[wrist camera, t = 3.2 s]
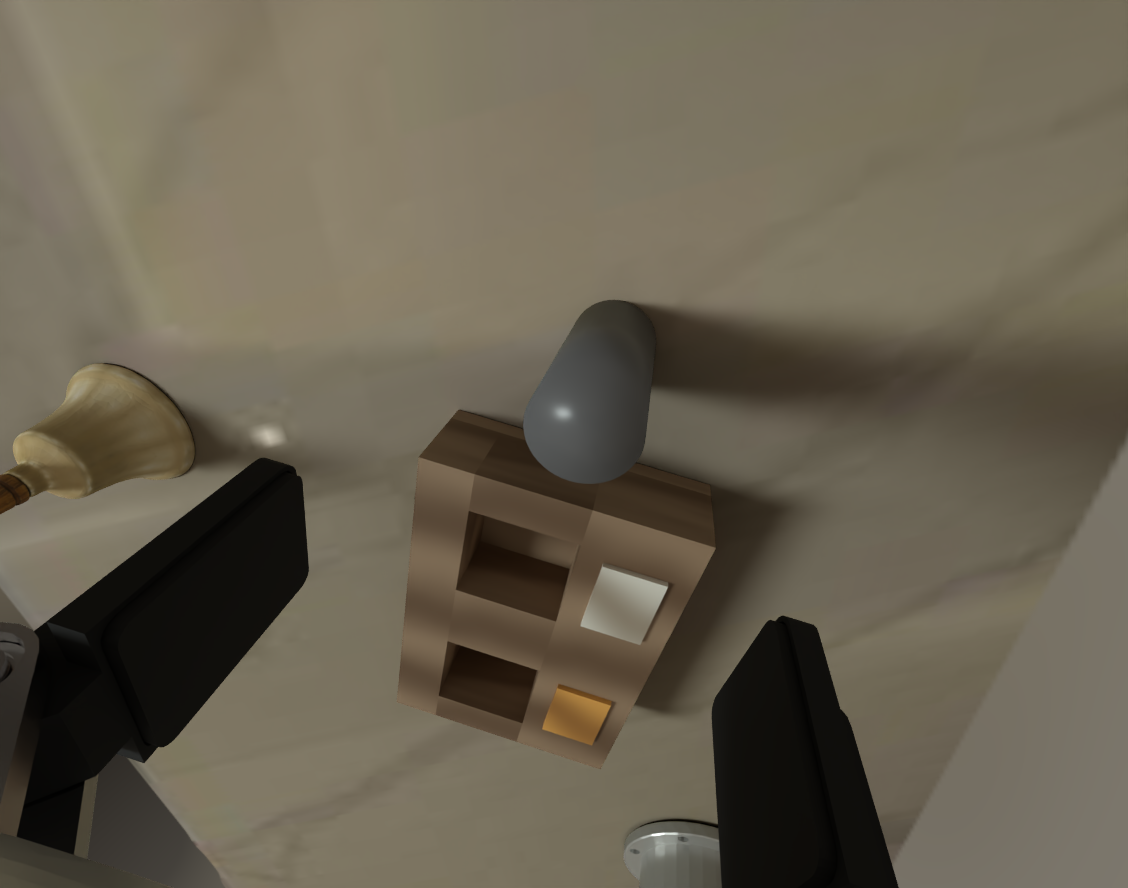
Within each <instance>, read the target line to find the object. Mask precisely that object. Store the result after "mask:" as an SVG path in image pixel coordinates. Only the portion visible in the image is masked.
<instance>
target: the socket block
mask: <svg viewBox="0 0 1128 888" xmlns="http://www.w3.org/2000/svg"><path fill="white" fill-rule="evenodd" d="M715 549H716V542H715V532H714V521H713V510H712V499H711V489H710V485H708V484H705V483H701V482H698V481H695V480H691V479H688V478H685V477H681V476H678V475H675V474H671V473H668V472H665V471H661V470H658V469H655V468H651V467H648V466H645V465H641V464H638V463H635V464H634V465H633V466H632V468H630V469H629V470H628V471H627V472H626V473H624V474H623V475H621V476H619V477H617V478H615V479H613V480H610V481H607V482H603V483H596V484H583V483H576V482H572V481H568V480H565V479H563V478H560V477H558V476H556V475H555V474H553V473H551V472H550V471H548V470H547V469H546V468H545V467H543V466H542V465H541V464H540V463H539V462H538V461H537V459H536V458H535V457H534V456H533V454H532V452H531V451H530V449H529V447H528V445H527V442H526V439H525V436H524V429H521V428H518V427H514V426H511V425H508V424H504V423H501V422H498V421H494V420H491V419H488V418H484V417H481V416H478V415H474V414H471V413H468V412H464V411H461V410H458V411H457V412H456V413H455V415H454V416H453V417H452V418H451V419H450V421H449V422H448V423H447V424H446V425H445V427H444V428H443V429H442V430H441V431H440V432H439V434H438V435H437V436H436V437H435V438H434V440H433V441H432V442H431V443H430V444H429V446H428V447H427V448H426V449H425V450H424V451H423V453H422V454H421V455H420V456H419V459H418V471H417V482H416V493H415V504H414V516H413V527H412V538H411V549H410V561H409V572H408V583H407V594H406V606H405V617H404V628H403V640H402V651H401V662H400V673H399V685H398V696H397V702H398V703H401V704H404V705H407V706H410V707H413V708H416V709H419V710H422V711H426V712H429V713H432V714H435V715H438V716H441V717H444V718H447V719H450V720H453V721H456V722H459V723H462V724H465V725H468V726H471V727H474V728H477V729H480V730H483V731H486V732H489V733H492V734H495V735H498V736H501V737H504V738H507V739H510V740H513V741H516V742H519V743H522V744H525V745H528V746H531V747H534V748H537V749H540V750H543V751H546V752H549V753H553V754H556V755H559V756H562V757H565V758H568V759H571V760H574V761H577V762H580V763H583V764H586V765H589V766H592V767H595V768H598V769H601V767H602V765H603V763H604V761H605V759H606V757H607V755H608V754H609V752H610V750H611V748H612V746H613V744H614V742H615V740H616V738H617V736H618V734H619V732H620V731H621V729H622V727H623V725H624V723H625V721H626V719H627V717H628V715H629V713H630V711H631V710H632V708H633V706H634V704H635V702H636V700H637V698H638V696H639V694H640V692H641V690H642V689H643V687H644V685H645V683H646V681H647V679H648V677H649V675H650V673H651V671H652V669H653V667H654V666H655V664H656V662H657V660H658V658H659V656H660V654H661V652H662V650H663V648H664V646H665V645H666V643H667V641H668V639H669V637H670V635H671V633H672V631H673V629H674V627H675V625H676V624H677V622H678V620H679V618H680V616H681V614H682V612H683V610H684V608H685V606H686V604H687V603H688V601H689V599H690V597H691V595H692V593H693V591H694V589H695V587H696V585H697V583H698V581H699V580H700V578H701V576H702V574H703V572H704V570H705V568H706V566H707V564H708V562H709V560H710V559H711V557H712V555H713V553H714V551H715Z"/></svg>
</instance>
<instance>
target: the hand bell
mask: <svg viewBox="0 0 1128 888" xmlns="http://www.w3.org/2000/svg"><path fill="white" fill-rule="evenodd" d="M13 453H14V456H15V459H16V461H17V463H18V465H17V466H16V467H14V468H12V469H10V470H8V471H6V472H5V473H4V474H3V475H0V514H2V513H4V512H5V511H7V510H9V509H11V508H13V507H14V506H15V505H20V504H22V503H24V502H26V501H27V500H28V499H29V497H33V496H35V495H37V494H39V493H41V492H43V491H48V492H50V493H52V494H54V495H57V496H60V497H63V498H69V499H79V498H83V497H86V496H88V495H90V494H92V493H94V492H97V491H99V490H101V489H103V488H106V487H108V486H111V485H113V484H115V483H118V482H121V481H125V480H129V479H133V478H146V479H152V480H164V479H171V478H175V477H178V476H181V475H182V474H184V473H185V472H186V471H187V470H188V469H189V468H190V467H191V465H192V463H193V460H194V457H195V446H194V441H193V437H192V434H191V431H190V429H189V426H188V424H187V423H186V421H185V419H184V417H183V416H182V414H181V413H180V412H179V410H178V408H177V407H176V406H175V405H174V403H173V402H172V401H171V400H170V399H169V398H168V397H167V396H166V395H165V394H164V393H163V392H161V391H160V390H159V389H158V388H157V387H156V386H154V385H153V384H152V383H151V382H149V381H148V380H146V379H145V378H143V377H142V376H140V375H138V374H136V373H134V372H132V371H130V370H128V369H125V368H122V367H119V366H116V365H110V364H103V363H100V364H91V365H87V366H85V367H83V368H81V369H80V370H79V371H77V372H76V374H75V375H74V376H73V377H72V379H71V380H70V382H69V385H68V387H67V392H66V399H65V401H64V402H63V404H62V405H61V406H60V407H59V408H58V409H57V410H56V411H55V412H54V413H52V414H51V415H50V416H48V417H47V418H45V419H44V420H43V421H41V422H40V423H38V424H36V425H35V426H33V427H32V428H30V429H28V430H26V431H24V432H23V433H21V434H20V435H19V436H18V437H17V438H16V439H15V441H14V444H13Z"/></svg>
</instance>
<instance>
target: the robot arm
mask: <svg viewBox="0 0 1128 888" xmlns="http://www.w3.org/2000/svg"><path fill="white" fill-rule="evenodd" d="M308 572H309V565H308V551H307V538H306V524H305V510H304V497H303V483H302V478H301V477H300V476H297V474H296V470H295V468H294V467H293V466H290V465H287V464H284V463H280V462H277V461H274V460H270V459H267V458H260V459H258V460H256V461H254V462H253V463H252V464H251V465H249V466H248V467H247V468H245V469H244V470H243V471H241V472H240V473H239V474H238V475H236V476H235V477H234V478H232V479H231V480H230V481H229V482H227V483H226V484H225V485H223V486H222V487H221V488H219V489H218V490H217V491H216V492H214V493H213V494H212V495H210V496H209V497H208V498H206V499H205V500H204V501H203V502H201V503H200V504H199V505H197V506H196V507H195V508H193V509H192V510H191V511H190V512H188V513H187V514H186V515H184V516H183V517H182V518H180V519H179V520H178V521H177V522H175V523H174V524H173V525H171V526H170V527H169V528H167V529H166V530H165V531H164V532H162V533H161V534H160V535H158V536H157V537H156V538H154V539H153V540H152V541H151V542H149V543H148V544H147V545H145V546H144V547H143V548H141V549H140V550H139V551H138V552H136V553H135V554H134V555H132V556H131V557H130V558H128V559H127V560H126V561H125V562H123V563H122V564H121V565H119V566H118V567H117V568H115V569H114V570H113V571H112V572H110V573H109V574H108V575H106V576H105V577H104V578H102V579H101V580H100V581H99V582H97V583H96V584H95V585H93V586H92V587H91V588H89V589H88V590H87V591H86V592H84V593H83V594H82V595H80V596H79V597H78V598H76V599H75V600H74V601H73V602H71V603H70V604H69V605H67V606H66V607H65V608H63V609H62V610H61V611H60V612H58V613H57V614H56V615H54V616H53V617H52V618H50V619H49V620H48V621H47V622H45V623H44V624H43V625H42V626H40V627H39V628H38V629H36V630H35V631H33V630H32V629H30V628H28V627H26V626H23V625H21V624H16V623H5V622H0V888H173V887H170V886H167V885H164V884H160V883H158V882H155V881H152V880H149V879H146V878H143V877H140V876H137V875H134V874H131V873H128V872H125V871H123V870H120V869H116V868H114V867H110V866H107V865H104V864H101V863H98V862H94V861H91V860H88V859H87V854H88V847H89V840H90V832H91V825H92V817H93V810H94V802H95V795H96V787H97V780H98V773H99V772H100V771H101V770H102V769H103V768H104V767H105V766H106V764H107V763H108V762H109V761H110V760H111V759H112V758H113V757H114V756H115V755H116V754H119V755H121V756H124V757H127V758H130V759H133V760H136V761H139V762H142V763H145V762H146V761H147V759H148V758H149V757H150V756H151V755H152V754H153V752H154V751H155V750H156V749H157V748H158V747H165V746H167V745H168V744H170V743H171V742H172V741H173V740H174V739H175V738H176V737H177V736H178V735H179V734H180V732H181V731H182V730H183V729H184V728H185V726H186V725H187V724H188V723H189V722H190V720H191V719H192V718H193V717H194V716H195V714H196V713H197V712H198V711H199V710H200V708H201V707H202V706H203V705H204V704H205V702H206V701H207V700H208V699H209V698H210V696H211V695H212V694H213V693H214V692H215V690H216V689H217V688H218V687H219V686H220V684H221V683H222V682H223V681H224V680H225V678H226V677H227V676H228V675H229V674H230V672H231V671H232V670H233V669H234V668H235V666H236V665H237V664H238V663H239V662H240V660H241V659H242V658H243V657H244V656H245V654H246V653H247V652H248V651H249V650H250V648H251V647H252V646H253V645H254V644H255V642H256V641H257V640H258V639H259V638H260V636H261V635H262V634H263V633H264V632H265V630H266V629H267V628H268V627H269V626H270V624H271V623H272V622H273V621H274V620H275V618H276V617H277V616H278V615H279V614H280V612H281V611H282V610H283V609H284V608H285V606H286V605H287V604H288V603H289V602H290V600H291V599H292V598H293V597H294V596H295V594H296V593H297V592H298V591H299V590H300V588H301V587H302V586H303V584H304V582H305V581H306V578H307V576H308ZM712 730H713V747H714V764H715V781H716V798H717V815H718V828H716V827H712V826H708V825H704V824H699V823H692V822H682V821H666V822H656V823H652V824H647V825H645V826H642V827H639V828H637V829H636V830H634V831H633V832H631V833H630V835H629V836H628V837H627V838H626V841H625V844H624V861H625V865H626V866H627V868H628V869H629V871H630V872H631V873H632V874H633V875H634V876H635V877H636V878H637V879H638V880H639V881H640V882H639V888H899V887H898V884H897V880H896V877H895V874H894V870H893V867H892V863H891V860H890V856H889V853H888V850H887V846H886V843H885V839H884V836H883V833H882V829H881V826H880V822H879V819H878V816H877V812H876V809H875V805H874V802H873V799H872V795H871V792H870V788H869V785H868V782H867V778H866V775H865V771H864V768H863V765H862V761H861V758H860V754H859V751H858V748H857V744H856V741H855V737H854V734H853V731H852V727H851V725H850V722H849V720H848V717H847V716H846V715H845V713H844V712H843V711H842V710H840V706H839V703H838V699H837V696H836V692H835V689H834V685H833V682H832V678H831V675H830V671H829V668H828V664H827V661H826V657H825V654H824V650H823V647H822V643H821V639H820V636H819V633H818V630H817V628H816V627H815V626H814V625H812V624H809V623H806V622H802V621H799V620H796V619H793V618H789V617H786V616H780V617H779V618H778V619H777V620H776V621H772V620H769V621H768V622H767V623H766V624H765V625H764V627H763V628H762V630H761V631H760V633H759V634H758V636H757V637H756V638H755V640H754V641H753V643H752V644H751V646H750V647H749V649H748V650H747V652H746V653H745V655H744V656H743V657H742V659H741V660H740V662H739V663H738V665H737V666H736V668H735V669H734V671H733V672H732V674H731V675H730V677H729V678H728V679H727V681H726V682H725V684H724V685H723V687H722V688H721V690H720V691H719V693H718V694H717V696H716V697H715V700H714V703H713V707H712Z"/></svg>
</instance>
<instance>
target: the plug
mask: <svg viewBox="0 0 1128 888" xmlns="http://www.w3.org/2000/svg"><path fill="white" fill-rule="evenodd" d="M655 350H656V335H655V330H654V327H653V325H652V323H651V321H650V320H649V318H648V317H647V316H646V314H645V313H644V312H643V311H642V310H640V309H639V308H638V307H636V306H634V305H632V304H630V303H628V302H624V301H620V300H607V301H602V302H599V303H596V304H594V305H592V306H591V307H589V308H588V309H586V310H585V311H584V312H583V313H582V314H581V315H580V317H579V318H578V320H577V321H576V323H575V325H574V326H573V328H572V330H571V331H570V333H569V335H568V337H567V338H566V340H565V342H564V343H563V345H562V347H561V348H560V350H559V352H558V354H557V355H556V357H555V359H554V360H553V362H552V364H551V365H550V367H549V369H548V371H547V372H546V374H545V376H544V377H543V379H542V381H541V382H540V384H539V386H538V388H537V389H536V391H535V393H534V394H533V396H532V398H531V399H530V401H529V403H528V405H527V407H526V411H525V414H524V421H523V429H524V436H525V439H526V442H527V445H528V447H529V449H530V451H531V452H532V454H533V456H534V457H535V458H536V459H537V461H538V462H539V463H540V464H541V465H542V466H543V467H545V468H546V469H547V470H548V471H550V472H551V473H553V474H555V475H556V476H558V477H560V478H563V479H565V480H568V481H572V482H576V483H583V484H596V483H603V482H607V481H610V480H613V479H615V478H617V477H619V476H621V475H623V474H624V473H626V472H627V471H628V470H629V469H630V468H632V466H633V465H634V464H635V463H636V462H637V460H638V459H639V457H640V455H641V453H642V451H643V448H644V444H645V437H646V429H647V420H648V411H649V402H650V393H651V385H652V376H653V367H654V358H655Z"/></svg>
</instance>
